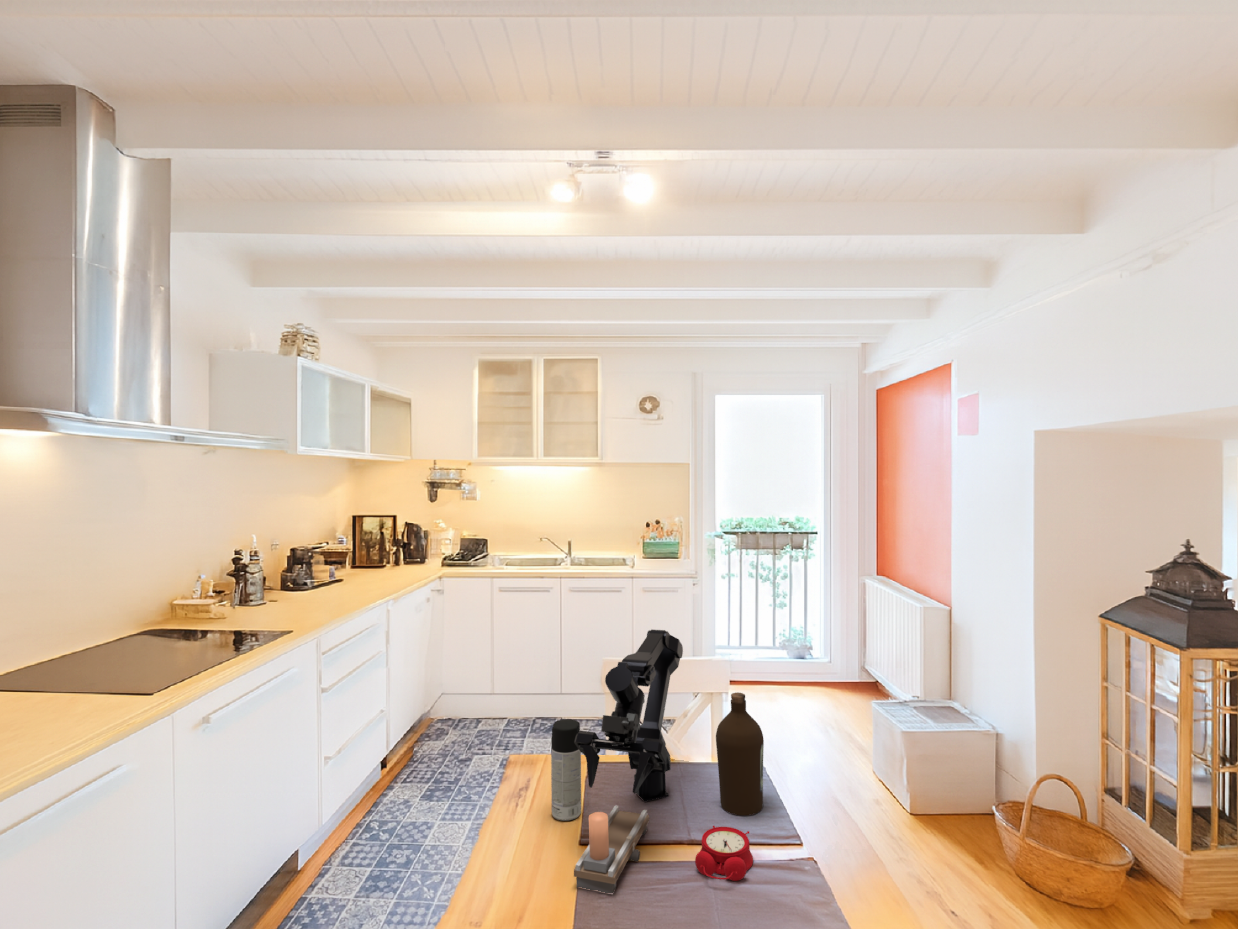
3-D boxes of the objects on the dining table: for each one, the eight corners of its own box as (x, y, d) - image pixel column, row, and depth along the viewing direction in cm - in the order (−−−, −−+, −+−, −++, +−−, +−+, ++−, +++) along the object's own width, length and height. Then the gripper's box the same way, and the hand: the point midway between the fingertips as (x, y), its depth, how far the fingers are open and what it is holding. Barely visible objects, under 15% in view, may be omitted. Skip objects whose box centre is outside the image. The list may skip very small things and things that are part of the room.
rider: (593, 853, 125) (592, 808, 125) (615, 857, 124) (613, 812, 124) (583, 869, 120) (582, 822, 120) (606, 873, 119) (604, 825, 119)
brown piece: (609, 823, 141) (609, 803, 142) (654, 831, 138) (653, 810, 138) (569, 886, 121) (568, 863, 121) (620, 896, 117) (619, 872, 117)
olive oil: (722, 819, 142) (719, 704, 142) (714, 794, 153) (710, 687, 153) (771, 816, 142) (767, 702, 142) (759, 792, 153) (755, 685, 153)
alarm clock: (756, 828, 132) (745, 853, 118) (756, 862, 130) (744, 891, 117) (705, 820, 135) (688, 843, 122) (705, 854, 134) (688, 880, 120)
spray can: (583, 807, 149) (583, 718, 149) (578, 822, 142) (577, 730, 143) (555, 806, 150) (554, 718, 150) (548, 821, 143) (547, 729, 143)
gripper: (576, 692, 137) (555, 768, 127) (661, 700, 131) (647, 780, 121) (591, 716, 145) (573, 789, 134) (672, 724, 139) (660, 802, 128)
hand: (611, 790), depth 129 cm, fingers open, 9 cm apart
